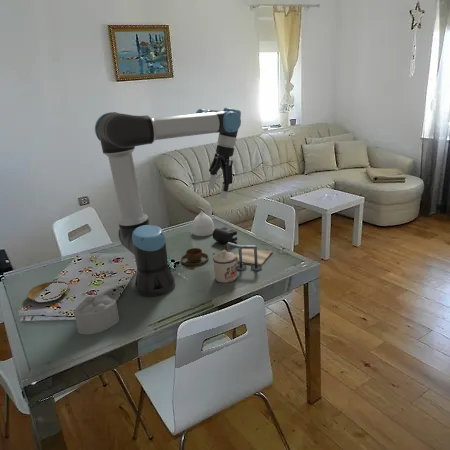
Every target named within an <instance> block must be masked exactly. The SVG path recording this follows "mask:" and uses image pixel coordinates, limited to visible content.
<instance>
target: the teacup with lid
mask: <svg viewBox="0 0 450 450" xmlns="http://www.w3.org/2000/svg"><path fill="white" fill-rule="evenodd" d="M212 261H213V270H214V279H215V280H216V281H217V282H218V283H225V284H226V283H231V282H233V281H235V280H236V279H237V277H238V275H237V274H238V273H237V272H238V270H236V266H237V265H238V264H239V263H238V257H237V256H236V253H233V252H231V251H230V252H227V251H226V250H225V249H222V250H221V251H220V252H217V253H215V254H213V257H212Z"/></svg>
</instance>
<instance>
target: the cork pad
mask: <svg viewBox="0 0 450 450" xmlns="http://www.w3.org/2000/svg"><path fill="white" fill-rule="evenodd" d="M272 254H273V251H272V250H264V249H258V248H257V261H258V265H260V266H261V267H262V266H263V265H264V264H265V262H266V261H267V260H268V259H269V258H270V256H271V255H272ZM235 255H236V256H237V257H238V263H237V264H239V251H238V252H236V253H235ZM267 258H268V259H267ZM266 259H267V260H266ZM242 263H243V264H242V265H249V264H250V266H253V265H255V261H254V249H242Z"/></svg>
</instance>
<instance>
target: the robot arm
mask: <svg viewBox="0 0 450 450" xmlns="http://www.w3.org/2000/svg"><path fill="white" fill-rule="evenodd" d="M196 110H197V111H196V112H195V113H193V114H192V113H191V114H190V113H189V114H181V115H180V114H179V115H171V116H169V115H168V116H159V117H158V116H157V117H151V116H150V115H148V114H147V115H133V114H128V113H119V112H115V111H113V112H112V111H111V112H110V111H109V112H105V113H103V114H102V115H100V116H99V117H98V118H97V120H96V122H95V125H94V133H95V136H96V137H97V139H98V140H99V142H100V145H101V150H102V153H103V155H105V156H106V157H108V158H107V159H108V161H109V167H110V171H111V177H112V181H113V185H114V190H115V194H116V199H117V203H118V208H119V209H118V210H119V213H120V219H119V220H118V222H117V224H118V232H117V237H118V240H119V241H120V243H121V244H122V246H123V247H124V248H125V249H126V250H128V251H129V252H130V253H131V254H133V255H134V257H135V263H136V270H137V271H136V276H135V277H136V278H135V280H134V281H135V282H134V289H135V292H136V294H138V295H139V296H142V297H158V296H162V295H165V294H167V293H169V292H171V291H173V290H174V289H175V286H176V282H175V277H174V276H173V274H172V272H171V269H170V267H169V263H168V262H169V261H168V252H167V243H166V236H165V232H164V230H163V229H162V228H161V227H159V226H158V225H152V224H150V219H149V216H148V215H147V214H146V213H144V211H143V205H142V199H141V194H140V189H139V188H140V187H139V184H138V179H137V173H136V169H135V163H134V158H133V152H134V150H135V149H136V147H140V146H144V145H151V144H153V143H154V142H155V141H158V140H159V141H160V140H168V139H175V138H177V139H178V138H184V137H191V136H193V137H194V136H199V135H200V136H201V135H205V134H207V135H208V134H214V133H215V134H216V133H218V138H217V142H216V143H217V144H216V148H215V153H214V157H213V159H212V162H211V164H210V167H209V168H208V172H209V174H210V176H209V180H208V181H209V182H208V185H207V186H208V188H207V189H209V190H215V185H216V181H217V175H218V172H219V170H220V169H221V171H222V178H223V182H222V183H221V189H220V195H219V198H220V199H227V196H228V191H229V186H230V185H232V184H233V163H234V161H233V160H231V159H230V157H233V156H234V154H235V153H234V152H235V146H236V142H237V136H238V132H239V129H240V127H241V126H242V120H241V114H242V112H241V110H239V109H238V108H237V109H236V108H232V107H231V108H230V107H225V106H224V108H223V110H216V109H215V110H214V109H207V108H198V109H196Z"/></svg>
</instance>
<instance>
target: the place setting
mask: <svg viewBox="0 0 450 450" xmlns="http://www.w3.org/2000/svg"><path fill="white" fill-rule="evenodd" d="M223 246H224V248H223V250H226V251H227V244H224V245H223ZM213 255H216V252H213ZM203 257H204V258H205V260H204V261H201V262H199V261H200V260H201V259H202V258H203ZM185 259H187V260H188V261H190V263H189V262H184V261H185ZM208 260H209V255H208V254H207V253H205V252H203V251H202V249H201V248H197V247H193V248H189V249H187V250H186V251H185V254H184V255H182V256H181V258H180V261H181V263H182V265H184V266H182V268H184V269H188V270H194V269H195V268H196V266H201V265H203V264H205V263H207V262H208ZM191 262H192V263H191Z"/></svg>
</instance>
